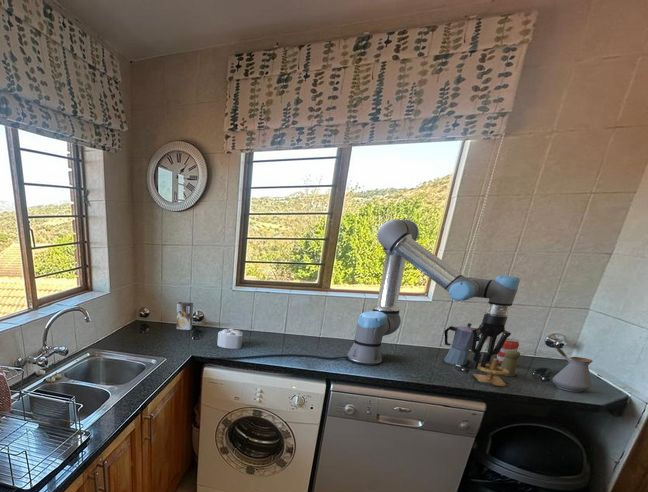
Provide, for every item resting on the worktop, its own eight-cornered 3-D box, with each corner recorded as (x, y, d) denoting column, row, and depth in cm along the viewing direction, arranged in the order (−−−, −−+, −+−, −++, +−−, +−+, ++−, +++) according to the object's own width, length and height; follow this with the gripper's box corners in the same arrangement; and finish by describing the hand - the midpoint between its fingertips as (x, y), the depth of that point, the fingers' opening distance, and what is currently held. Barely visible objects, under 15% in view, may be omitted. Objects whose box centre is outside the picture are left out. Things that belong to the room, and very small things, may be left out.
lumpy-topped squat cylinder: (240, 349, 213) (242, 333, 209) (216, 347, 216) (217, 331, 212) (241, 343, 222) (243, 328, 219) (218, 342, 225) (219, 327, 222)
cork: (514, 373, 182) (523, 350, 178) (514, 377, 177) (522, 353, 173) (497, 370, 185) (505, 347, 181) (496, 374, 181) (504, 350, 177)
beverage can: (492, 362, 196) (500, 338, 192) (500, 360, 198) (508, 337, 194) (506, 366, 191) (514, 342, 186) (514, 364, 193) (523, 340, 189)
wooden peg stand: (478, 383, 171) (486, 360, 167) (472, 376, 179) (479, 354, 175) (505, 386, 168) (513, 363, 164) (497, 379, 175) (505, 357, 172)
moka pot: (477, 368, 188) (491, 326, 181) (440, 365, 191) (452, 324, 184) (466, 361, 197) (479, 321, 190) (431, 359, 200) (443, 319, 193)
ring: (480, 372, 168) (481, 368, 168) (471, 364, 178) (472, 361, 178) (512, 377, 165) (514, 374, 164) (501, 369, 175) (503, 366, 174)
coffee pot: (596, 394, 160) (613, 359, 155) (564, 393, 162) (579, 357, 156) (554, 375, 180) (567, 343, 174) (526, 374, 181) (538, 342, 176)
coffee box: (192, 328, 253) (193, 302, 248) (190, 330, 248) (191, 304, 242) (178, 326, 256) (179, 301, 250) (175, 329, 250) (176, 303, 245)
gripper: (476, 314, 164) (459, 368, 173) (522, 318, 159) (502, 373, 167) (471, 311, 170) (455, 363, 179) (515, 314, 165) (496, 368, 174)
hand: (478, 368), depth 173 cm, fingers closed on ring, 2 cm apart
